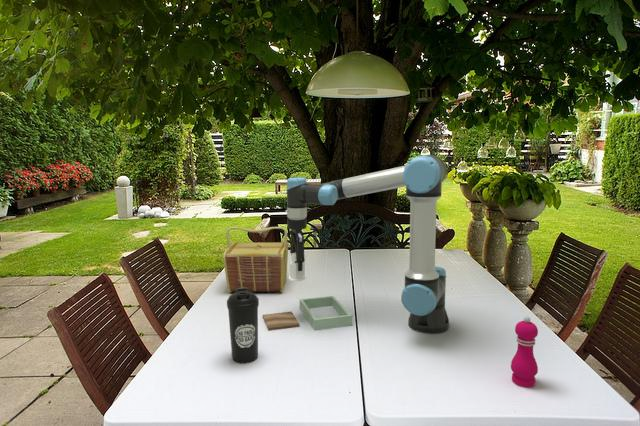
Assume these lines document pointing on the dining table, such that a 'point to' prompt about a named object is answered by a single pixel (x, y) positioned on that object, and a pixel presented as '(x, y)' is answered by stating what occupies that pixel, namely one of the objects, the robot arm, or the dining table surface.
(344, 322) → the bin
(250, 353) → the water bottle
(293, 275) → the downlight
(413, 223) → the robot arm
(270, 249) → the picnic basket
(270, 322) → the pad
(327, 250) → the dining table surface
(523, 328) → the pepper mill
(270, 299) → the dining table surface
